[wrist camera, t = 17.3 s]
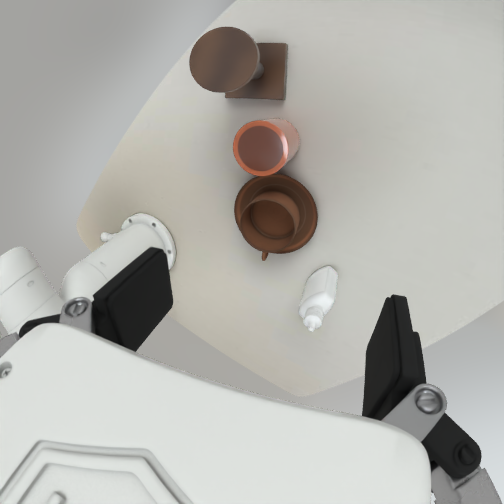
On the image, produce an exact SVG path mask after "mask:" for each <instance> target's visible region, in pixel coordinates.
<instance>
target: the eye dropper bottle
mask: <svg viewBox="0 0 504 504" xmlns="http://www.w3.org/2000/svg"><path fill="white" fill-rule="evenodd" d="M337 280H338V274H337V272H336V271H335V270H334V269H333V268H332V267H330V266H326V267H323V268H321V269H319V270H317V271H315V272H314V273H313V274H312V275H311V276H310V277H309V279H308V280H307V282H306V284H305V288H304V291H303V295H302V298H301V302H300V306H299V314H300V315H301V316H302V317H303V318H304V324H305V326H306V327H308V330H309V331H310V332H312V331H314V329H317V328H319V327H320V326H321V325H322V321H323V316H324V315H325V314H327V313H328V312H329V310H330V309H331V308H332V306H333V304H334V302H335V297H336V289H337Z"/></svg>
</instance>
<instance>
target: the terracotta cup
mask: <svg viewBox="0 0 504 504" xmlns="http://www.w3.org/2000/svg"><path fill="white" fill-rule="evenodd" d="M299 144H300V139H299V135H298V132H297V130H296V129H295V127H294V126H293V125H292V124H291V123H289V122H288V121H286V120H284V119H280V118H271V119H264V120H258V121H253V122H250V123H247V124H246V125H244V126H243V127H242V128H241V129H240V130H239V131H238V132H237V134H236V136H235V138H234V142H233V152H234V156H235V158H236V161H237V162H238V164H239V165H240V166H241V167H242V168H243V169H244V170H245V171H247V172H248V173H250V174H253V175H256V176H268V175H271V174H274V173H276V172H277V171H279V170H280V169H281V168H282V167H283V166H284V165H285V164H286V163H287V162H289V161H290V160H291V159H292V158H293V157H294V156H295V155H296V153H297V151H298V149H299Z"/></svg>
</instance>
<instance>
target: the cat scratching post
mask: <svg viewBox="0 0 504 504" xmlns="http://www.w3.org/2000/svg"><path fill="white" fill-rule="evenodd" d="M287 50H288V45H287V44H286V43H256V42H255V41H254V39H253V38H252V37H251V36H250V35H248V34H247V33H246V32H244V31H242V30H240V29H237V28H234V27H220V28H216V29H213V30H211V31H209V32H207V33H206V34H204V35H203V36H202V37H201V38H200V39H199V40H198V41H197V42H196V44H195V45H194V47H193V49H192V51H191V55H190V61H189V62H190V70H191V74H192V76H193V78H194V79H195V81H196V82H197V83H198V84H199V85H200V86H202V87H203V88H205V89H207V90H209V91H212V92H221V93H225V98H255V99H276V100H285V92H286V72H287Z"/></svg>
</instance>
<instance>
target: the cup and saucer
mask: <svg viewBox="0 0 504 504" xmlns="http://www.w3.org/2000/svg"><path fill="white" fill-rule="evenodd" d="M234 213H235V219H236V223H237V225H238V228H239V230H240V231H241V233H242V235H243V237H244V238H245V240H246V241H247V242H248V243H249V244H250V245H251V246H252V247H254V248H255V249H257V250H259V251H262V252H263V253H262V260H263V261H265V260H266V258H267V256H268V253H277V254H283V253H290V252H293V251H296V250H298V249H300V248H301V247H303V246H304V245H305V244H306V243H307V242H308V241H309V240H310V239H311V237H312V236H313V234H314V232H315V229H316V226H317V219H318V215H317V208H316V204H315V202H314V199H313V197H312V196H311V194H310V193H309V191H308V190H307V189H306V188H305V187H304V186H303V185H302V184H301V183H300V182H298V181H297V180H295V179H293V178H291V177H289V176H286V175H282V174H275V173H274V174H271V175H268V176H257V177H255V178H253V179H251V180H250V181H248V182H247V183H246V184H245V185H244V186H243V187H242V188H241V190H240V191H239V193H238V195H237V198H236V201H235V207H234Z"/></svg>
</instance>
